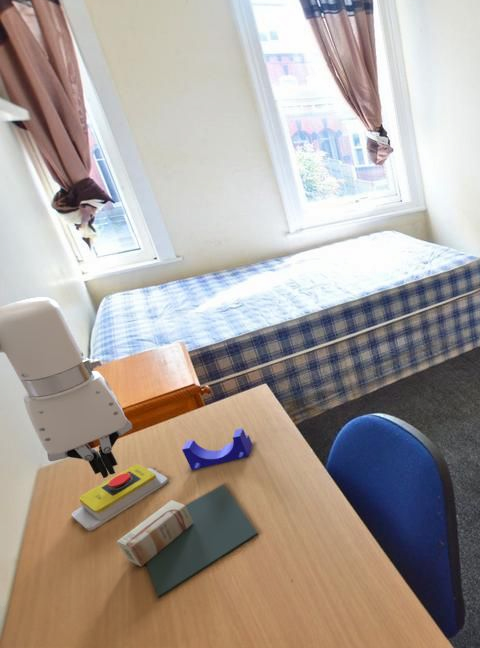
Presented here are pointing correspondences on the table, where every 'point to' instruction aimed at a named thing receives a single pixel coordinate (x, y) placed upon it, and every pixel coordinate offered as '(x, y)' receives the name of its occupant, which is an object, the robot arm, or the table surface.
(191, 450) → the cable clip
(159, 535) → the printed medicine box
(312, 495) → the table surface
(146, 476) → the emergency button
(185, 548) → the mat
